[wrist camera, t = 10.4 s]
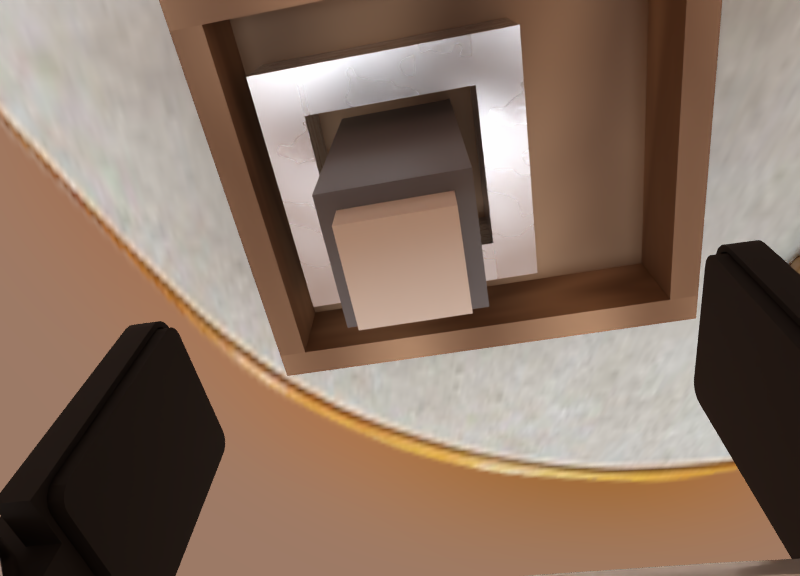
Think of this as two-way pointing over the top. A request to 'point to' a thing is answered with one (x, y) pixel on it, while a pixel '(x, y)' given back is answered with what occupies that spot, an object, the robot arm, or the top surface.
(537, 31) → the walnut box
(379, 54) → the socket
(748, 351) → the robot arm
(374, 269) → the plug
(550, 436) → the top surface
